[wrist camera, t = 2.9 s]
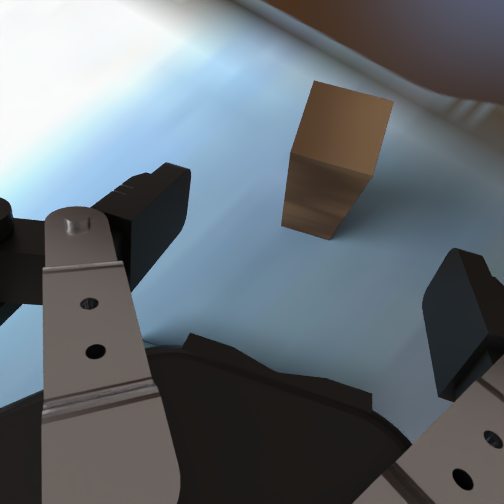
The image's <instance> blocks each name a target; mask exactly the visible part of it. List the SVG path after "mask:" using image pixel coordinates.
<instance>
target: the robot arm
mask: <svg viewBox="0 0 504 504" xmlns="http://www.w3.org/2000/svg"><path fill="white" fill-rule="evenodd" d="M190 182H191V171H190V169H188V168H184V167H181V166H177V165H174V164H171V163H167V162H166V163H164V164H163V165H162V166H160V167H159V168H158V169H157V170H155V171H154V172H153V173H152V174H150V173H143V174H139V175H136V176H133V177H131V178H129V179H128V180H127V181H125V182H124V183H123V184H122V186H121V185H120V186H119V187H117V188H116V189H115V190H114V192H113V191H112V192H110V193H109V194H108V195H106V196H105V197H104V198H102V199H101V200H100V201H98V202H97V203H96V204H94V205H93V206H92V207H90V208H89V207H81V206H74V207H66V208H61V209H58V210H56V211H54V212H52V213H50V214H49V215H48V216H47V217H46V219H45V221H38V220H29V219H19V218H13V215H12V209H11V205H10V203H9V202H8V201H6V200H5V199H3V198H0V326H1V325H2V324H3V323H4V322H5V321H6V320H7V319H8V318H9V317H10V316H11V315H12V314H13V313H14V312H15V311H16V310H17V309H18V308H19V307H20V306H21V305H22V304H33V305H43V373H44V389H43V390H41V391H39V392H36V393H34V394H32V395H29V396H27V397H25V398H23V399H20V400H18V401H16V402H13V403H11V404H9V405H6V406H4V407H2V408H0V504H504V286H503V285H502V284H501V283H500V282H499V281H498V280H497V278H496V277H492V275H491V273H490V271H489V269H488V266H487V264H486V262H485V260H484V258H483V256H481V255H478V254H474V253H471V252H467V251H464V250H461V249H457V248H453V249H452V250H450V251H449V253H448V254H447V256H446V257H445V259H444V261H443V262H442V264H441V266H440V267H439V269H438V271H437V272H436V274H435V276H434V277H433V279H432V281H431V282H430V284H429V286H428V287H427V289H426V291H425V294H424V297H423V302H422V310H423V315H424V321H425V326H426V332H427V338H428V343H429V349H430V354H431V360H432V365H433V371H434V377H435V382H436V388H437V393H438V397H440V398H443V399H446V400H449V401H452V402H454V403H453V404H452V405H451V406H450V407H449V408H448V409H447V410H446V411H445V412H444V413H443V414H442V415H441V416H440V417H439V418H438V419H437V420H436V421H435V422H434V423H433V424H432V425H431V426H430V427H429V428H428V429H427V430H426V431H425V432H424V433H423V435H422V436H421V437H420V438H419V439H418V440H417V441H416V442H415V443H414V444H413V445H412V443H411V442H410V441H409V440H408V439H407V438H406V437H405V436H404V435H403V434H402V433H401V432H400V431H399V430H398V429H397V428H396V427H395V426H394V425H393V424H391V423H390V422H389V421H388V420H386V419H385V418H384V417H382V416H381V415H379V414H378V413H376V412H375V411H373V410H372V394H371V393H368V392H365V391H362V390H359V389H356V388H353V387H350V386H347V385H344V384H341V383H338V382H335V381H332V380H330V379H327V378H319V377H310V376H302V375H293V374H284V373H278V372H275V371H273V370H271V369H270V368H268V367H266V366H264V365H263V364H261V363H259V362H258V361H256V360H254V359H252V358H251V357H249V356H247V355H246V354H244V353H242V352H241V351H239V350H237V349H235V348H234V347H231V346H228V345H225V344H222V343H219V342H216V341H213V340H210V339H207V338H204V337H201V336H198V335H195V334H192V333H190V334H189V336H188V338H187V339H186V341H185V343H184V345H183V346H181V345H161V346H152V347H147V348H144V344H143V340H142V336H141V332H140V328H139V324H138V320H137V316H136V312H135V308H134V304H133V300H132V296H131V292H132V291H133V290H134V288H135V287H136V286H137V285H138V284H139V282H140V281H141V280H142V279H143V277H144V276H145V275H146V274H147V272H148V271H149V270H150V269H151V268H152V266H153V265H154V264H155V263H156V261H157V260H158V259H159V258H160V256H161V255H162V254H163V253H164V251H165V250H166V249H167V248H168V247H169V245H170V244H171V243H172V242H173V240H174V239H175V238H176V237H177V235H178V234H179V233H180V232H181V230H182V228H183V226H184V223H185V220H186V216H187V208H188V199H189V191H190Z"/></svg>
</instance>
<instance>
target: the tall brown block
mask: <svg viewBox="0 0 504 504" xmlns="http://www.w3.org/2000/svg"><path fill="white" fill-rule="evenodd" d="M393 103H394V101H391V100H387V99H383V98H379V97H375V96H371V95H368V94H364V93H360V92H356V91H352V90H349V89H345V88H341V87H337V86H333V85H329V84H326V83H322V82H318V81H314V82H313V85H312V88H311V91H310V94H309V97H308V100H307V104H306V107H305V110H304V113H303V116H302V119H301V122H300V125H299V128H298V131H297V134H296V137H295V140H294V143H293V146H292V149H291V152H290V160H289V168H288V176H287V183H286V191H285V199H284V207H283V215H282V223H281V226H283V227H286V228H290V229H293V230H296V231H300V232H303V233H306V234H310V235H313V236H316V237H320V238H323V239H326V240H330V238H331V237H332V235H333V234H334V232H335V231H336V229H337V228H338V226H339V225H340V223H341V222H342V220H343V219H344V218H345V216H346V215H347V213H348V212H349V210H350V209H351V207H352V206H353V204H354V203H355V201H356V200H357V198H358V197H359V195H360V194H361V193H362V191H363V190H364V188H365V187H366V185H367V184H368V182H369V181H370V179H371V178H372V176H373V174H374V170H375V166H376V163H377V159H378V156H379V152H380V149H381V145H382V142H383V138H384V135H385V131H386V128H387V124H388V120H389V117H390V113H391V110H392V106H393Z"/></svg>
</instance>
